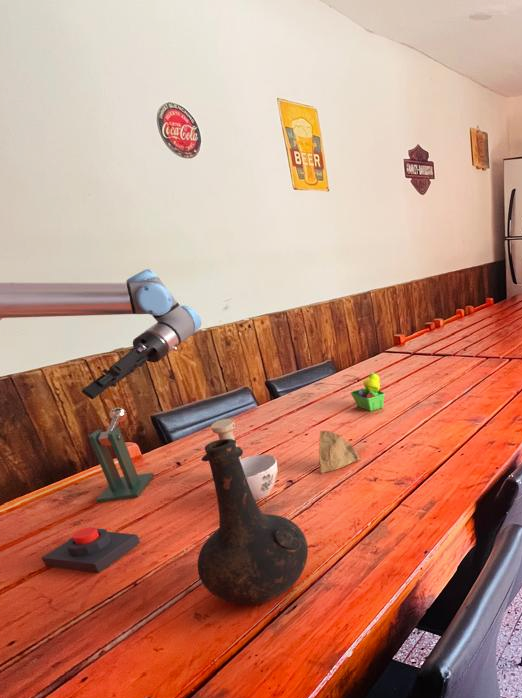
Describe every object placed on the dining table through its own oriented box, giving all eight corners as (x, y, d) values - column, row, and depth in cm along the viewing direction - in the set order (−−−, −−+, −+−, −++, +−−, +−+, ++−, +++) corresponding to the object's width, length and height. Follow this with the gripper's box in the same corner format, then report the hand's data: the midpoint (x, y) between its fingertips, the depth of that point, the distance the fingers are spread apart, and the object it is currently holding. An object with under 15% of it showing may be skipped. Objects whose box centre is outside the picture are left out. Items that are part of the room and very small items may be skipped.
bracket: (117, 481, 133) (94, 425, 126) (154, 476, 135) (133, 420, 128) (97, 504, 123) (70, 444, 116) (138, 498, 124) (114, 438, 118)
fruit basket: (351, 406, 178) (346, 374, 173) (373, 399, 184) (368, 369, 179) (369, 413, 171) (364, 380, 166) (391, 406, 176) (386, 374, 171)
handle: (224, 483, 129) (207, 429, 122) (233, 472, 135) (217, 419, 128) (243, 482, 129) (228, 427, 123) (251, 470, 135) (236, 418, 128)
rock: (361, 445, 141) (324, 444, 140) (359, 429, 133) (319, 427, 132) (358, 481, 136) (319, 479, 135) (355, 466, 128) (314, 465, 127)
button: (70, 544, 101) (66, 537, 100) (88, 533, 104) (85, 526, 103) (86, 546, 100) (83, 539, 99) (104, 535, 103) (101, 527, 102)
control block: (45, 566, 100) (36, 549, 99) (90, 537, 109) (83, 522, 107) (98, 573, 98) (90, 556, 96) (140, 543, 106) (134, 527, 105)
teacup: (244, 482, 129) (235, 454, 125) (292, 482, 128) (285, 453, 125) (212, 514, 116) (202, 483, 112) (265, 513, 115) (257, 482, 111)
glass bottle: (283, 625, 82) (238, 471, 70) (185, 616, 85) (126, 467, 73) (331, 558, 98) (301, 423, 86) (247, 553, 101) (206, 421, 89)
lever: (115, 417, 132) (109, 405, 130) (131, 415, 133) (124, 404, 130) (100, 449, 123) (93, 437, 120) (116, 447, 123) (109, 435, 121)
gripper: (176, 342, 136) (110, 393, 119) (159, 364, 143) (95, 416, 127) (150, 320, 133) (79, 370, 116) (135, 345, 140) (65, 395, 124)
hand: (87, 394), depth 122 cm, fingers closed
